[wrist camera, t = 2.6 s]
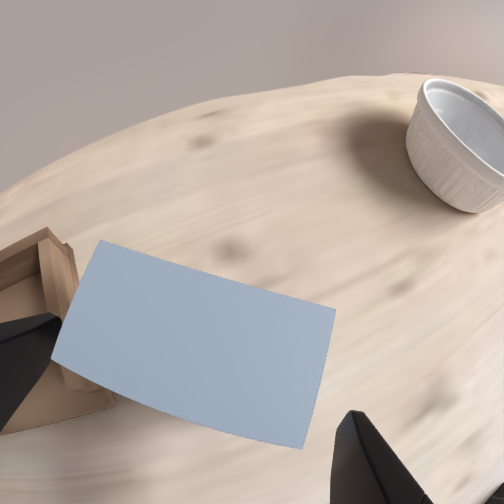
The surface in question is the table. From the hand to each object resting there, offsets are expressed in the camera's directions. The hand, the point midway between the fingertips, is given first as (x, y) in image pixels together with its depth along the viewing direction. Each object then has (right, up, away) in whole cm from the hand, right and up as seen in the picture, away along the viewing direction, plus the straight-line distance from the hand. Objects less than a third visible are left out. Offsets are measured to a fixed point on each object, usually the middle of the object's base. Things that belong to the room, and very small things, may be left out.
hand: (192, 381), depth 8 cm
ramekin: (+22, +12, +18) cm, 31 cm away
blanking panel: (0, -3, +9) cm, 9 cm away
